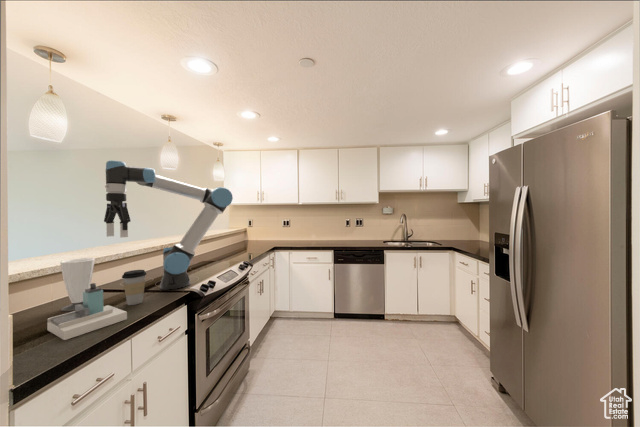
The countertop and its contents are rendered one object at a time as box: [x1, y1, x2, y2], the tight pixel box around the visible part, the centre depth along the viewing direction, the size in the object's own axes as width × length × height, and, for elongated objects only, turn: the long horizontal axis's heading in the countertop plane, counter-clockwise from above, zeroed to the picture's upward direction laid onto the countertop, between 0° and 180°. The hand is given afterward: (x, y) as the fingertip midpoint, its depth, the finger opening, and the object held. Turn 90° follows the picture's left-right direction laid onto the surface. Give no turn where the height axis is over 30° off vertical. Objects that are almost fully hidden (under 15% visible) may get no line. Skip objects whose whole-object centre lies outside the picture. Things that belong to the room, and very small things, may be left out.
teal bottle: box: [83, 282, 104, 315], centre depth 95 cm, size 5×5×15 cm
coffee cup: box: [121, 269, 147, 306], centre depth 115 cm, size 9×9×15 cm
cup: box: [59, 257, 96, 312], centre depth 111 cm, size 12×12×22 cm
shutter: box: [52, 304, 89, 325], centre depth 90 cm, size 8×9×4 cm
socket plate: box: [46, 304, 128, 341], centre depth 93 cm, size 18×16×4 cm
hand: (117, 236), depth 116 cm, fingers open, 13 cm apart
